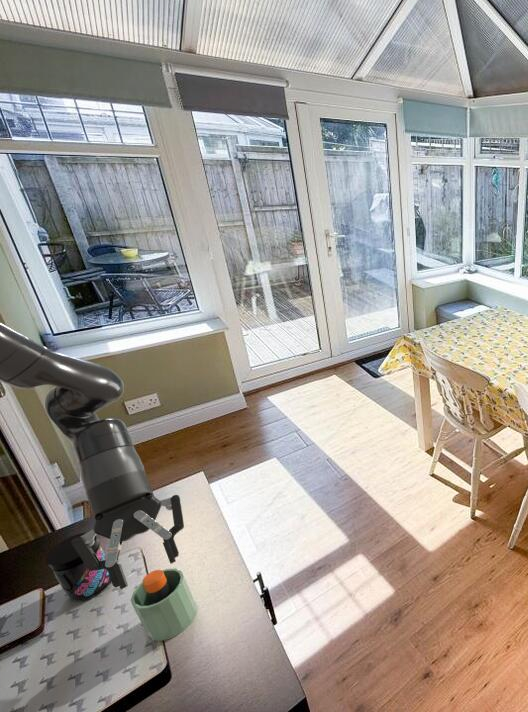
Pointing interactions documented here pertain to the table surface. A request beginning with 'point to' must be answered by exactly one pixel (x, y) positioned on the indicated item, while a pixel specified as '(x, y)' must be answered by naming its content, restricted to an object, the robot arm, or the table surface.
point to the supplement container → (77, 570)
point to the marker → (156, 586)
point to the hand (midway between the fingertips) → (149, 574)
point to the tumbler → (166, 608)
